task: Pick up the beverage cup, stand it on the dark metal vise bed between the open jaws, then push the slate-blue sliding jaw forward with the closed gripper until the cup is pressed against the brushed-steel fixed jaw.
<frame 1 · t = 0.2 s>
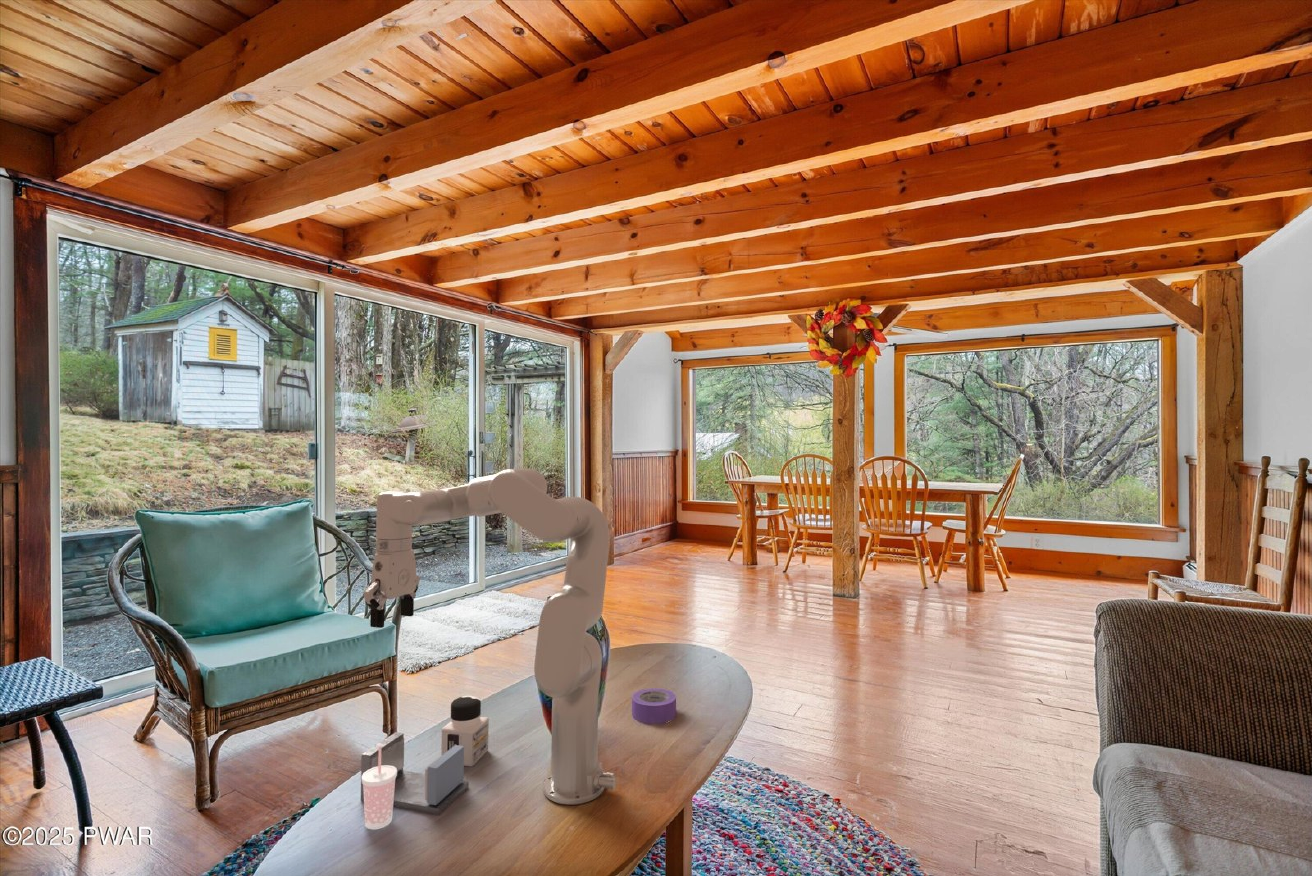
hand: (392, 621, 139), 31 cm above the table, fingers open, 9 cm apart
container: (465, 757, 139), on the table
beverage cup: (378, 823, 114), on the table
vise base: (415, 793, 124), on the table
tape roll: (653, 716, 162), on the table
sliding jaw: (444, 773, 122), point 5 cm above the table, slide at 0.0 cm
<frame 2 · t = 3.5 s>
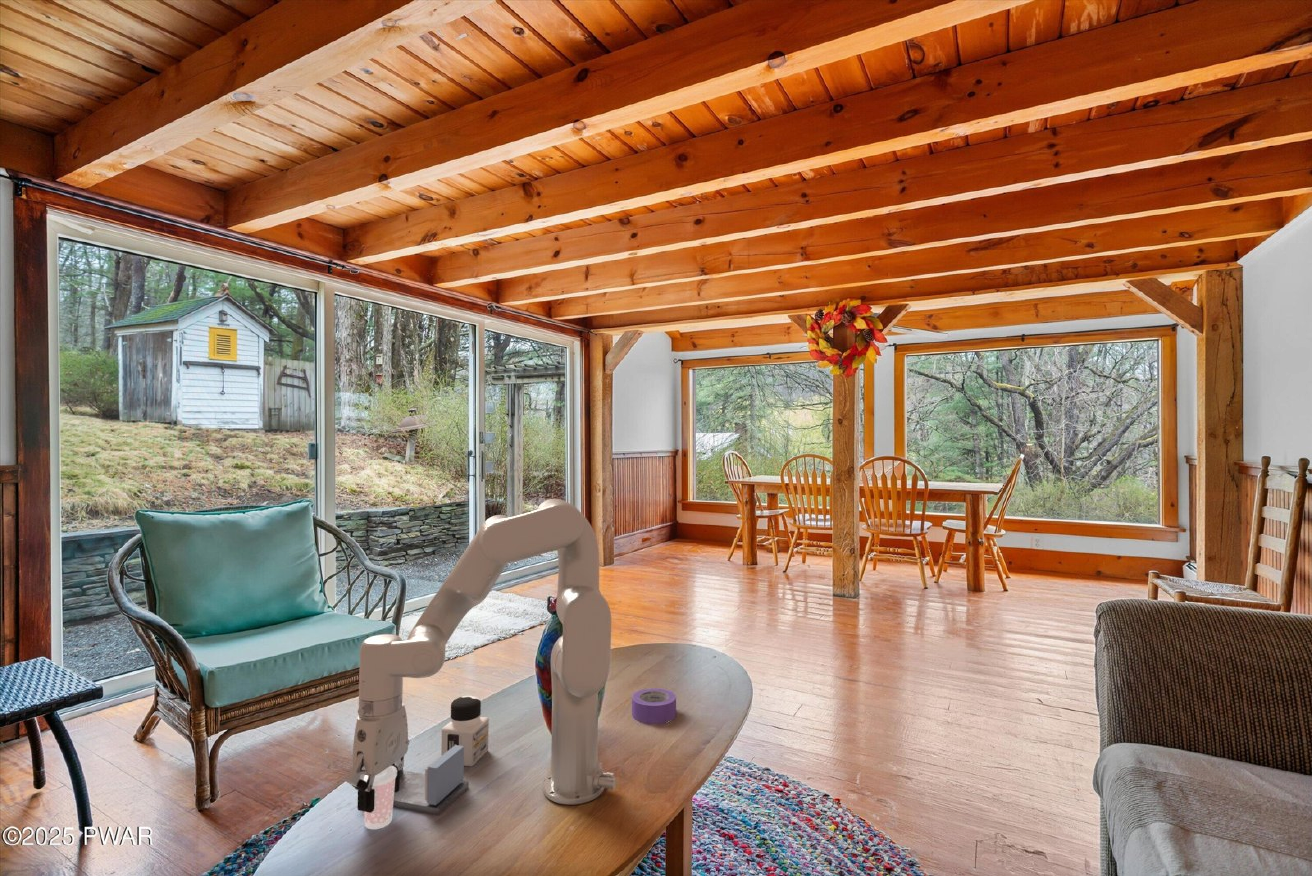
hand: (379, 799, 114), 4 cm above the table, fingers closed on beverage cup, 6 cm apart
beverage cup: (378, 823, 114), on the table, touching gripper
everything else where it was.
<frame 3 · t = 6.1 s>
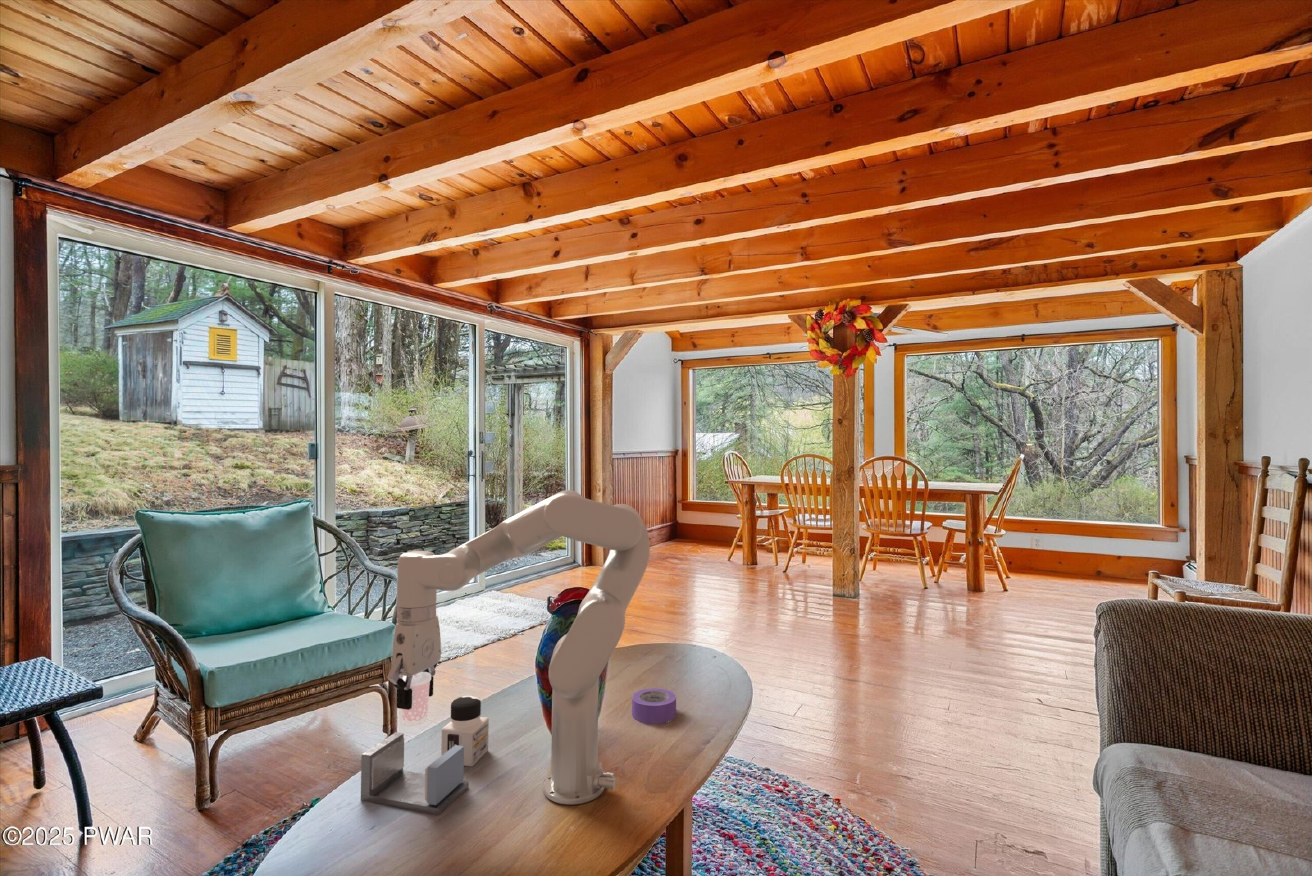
hand: (415, 700, 124), 19 cm above the table, fingers closed on beverage cup, 6 cm apart
beverage cup: (414, 722, 124), point 14 cm above the table, touching gripper
everything else where it was.
when the fingers open (6 cm above the table, at t = 8.7 s): beverage cup stays where it is, resting on vise base.
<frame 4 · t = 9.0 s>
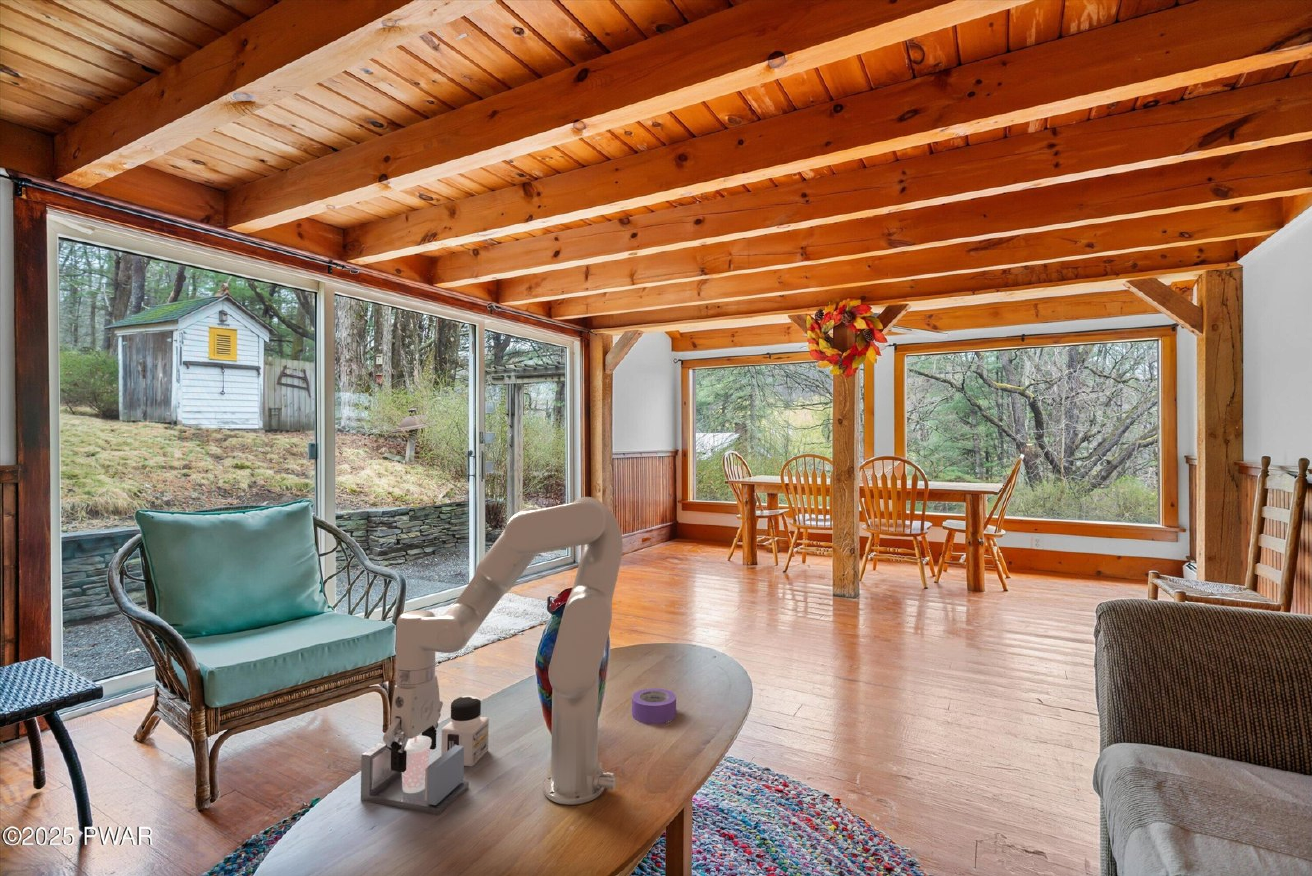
hand: (414, 759, 124), 7 cm above the table, fingers open, 9 cm apart
beverage cup: (414, 788, 124), point 1 cm above the table, touching vise base
everything else where it was.
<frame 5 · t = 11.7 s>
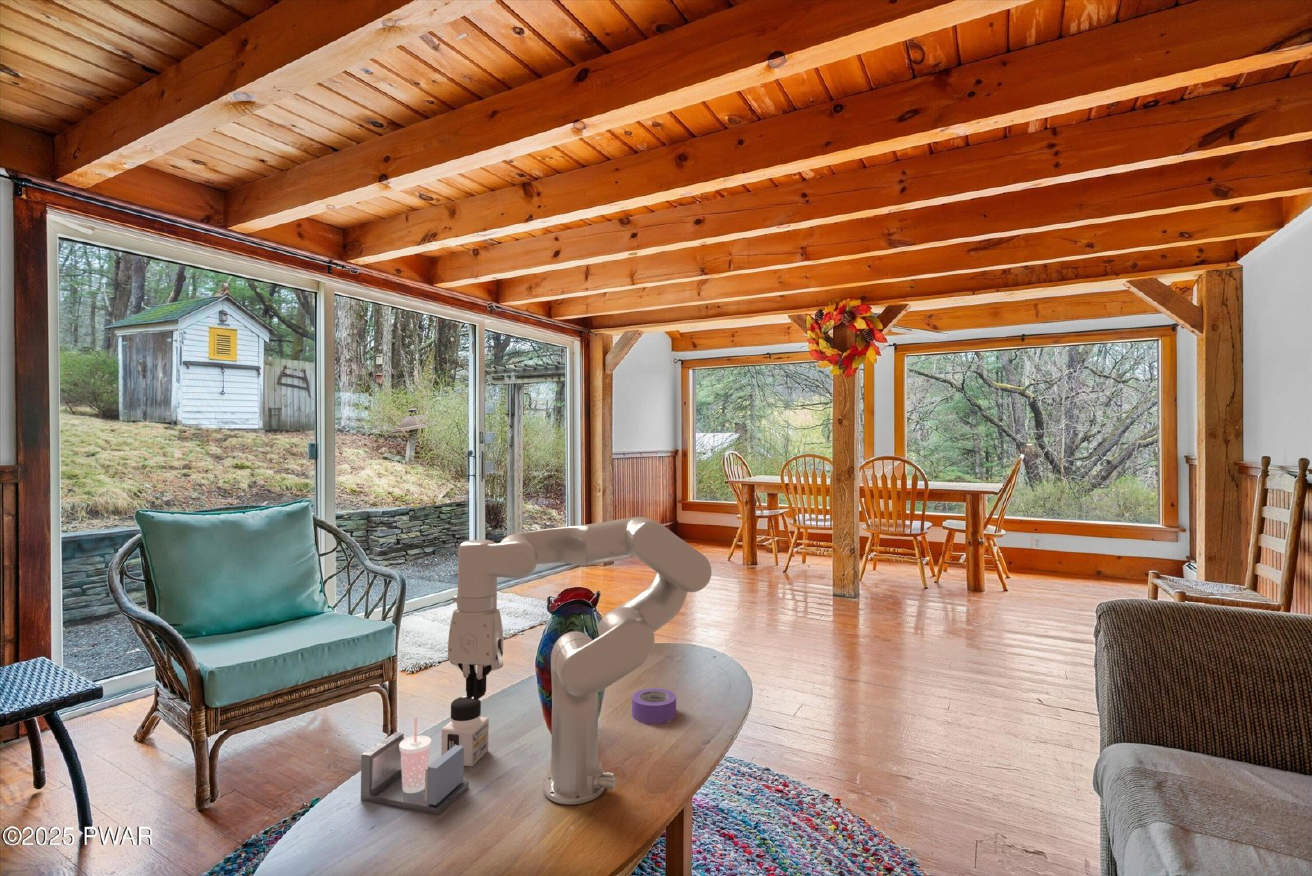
hand: (475, 696, 121), 21 cm above the table, fingers closed
nothing on the table moved.
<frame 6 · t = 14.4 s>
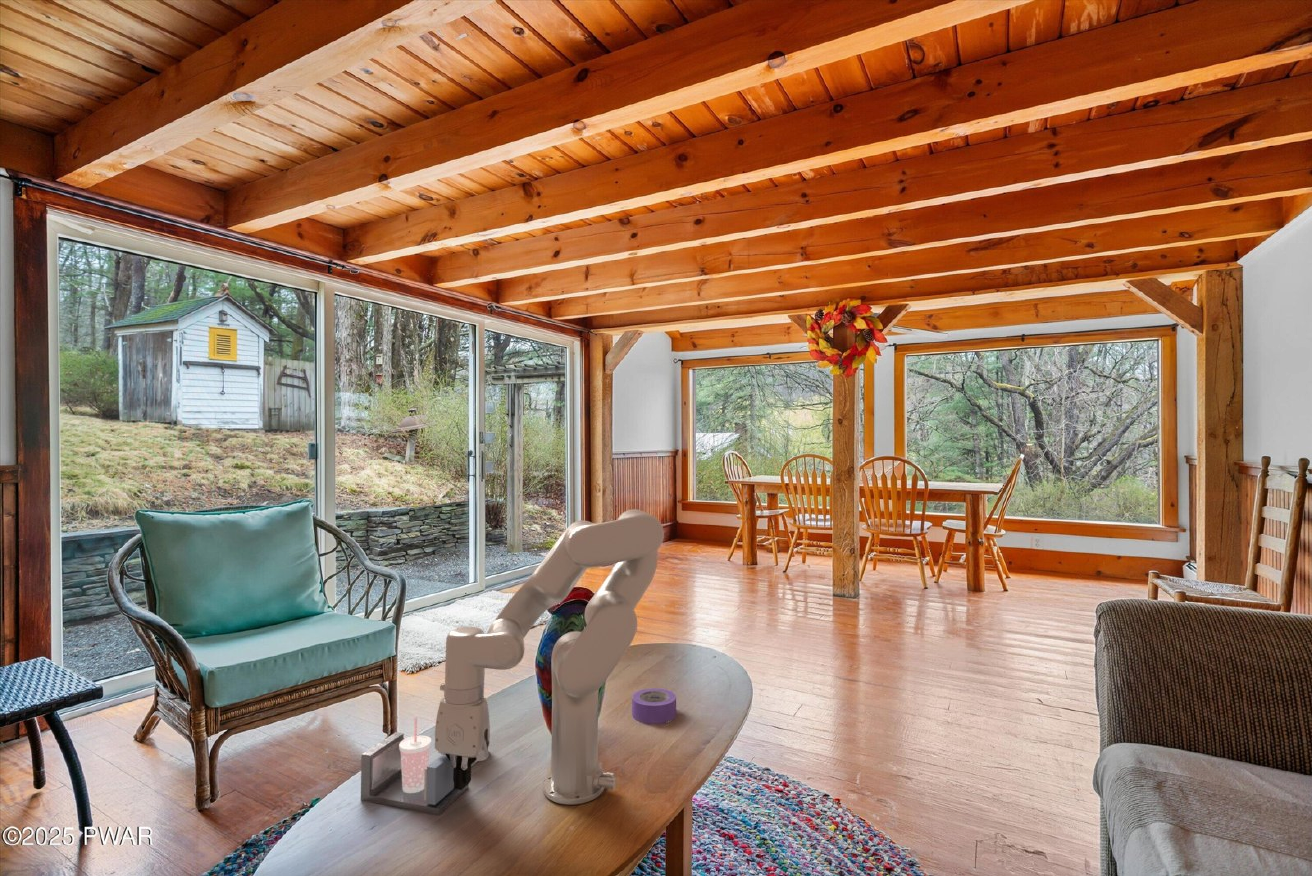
hand: (461, 786, 121), 3 cm above the table, fingers closed
sliding jaw: (444, 773, 122), point 5 cm above the table, slide at 0.2 cm, touching gripper
everything else where it was.
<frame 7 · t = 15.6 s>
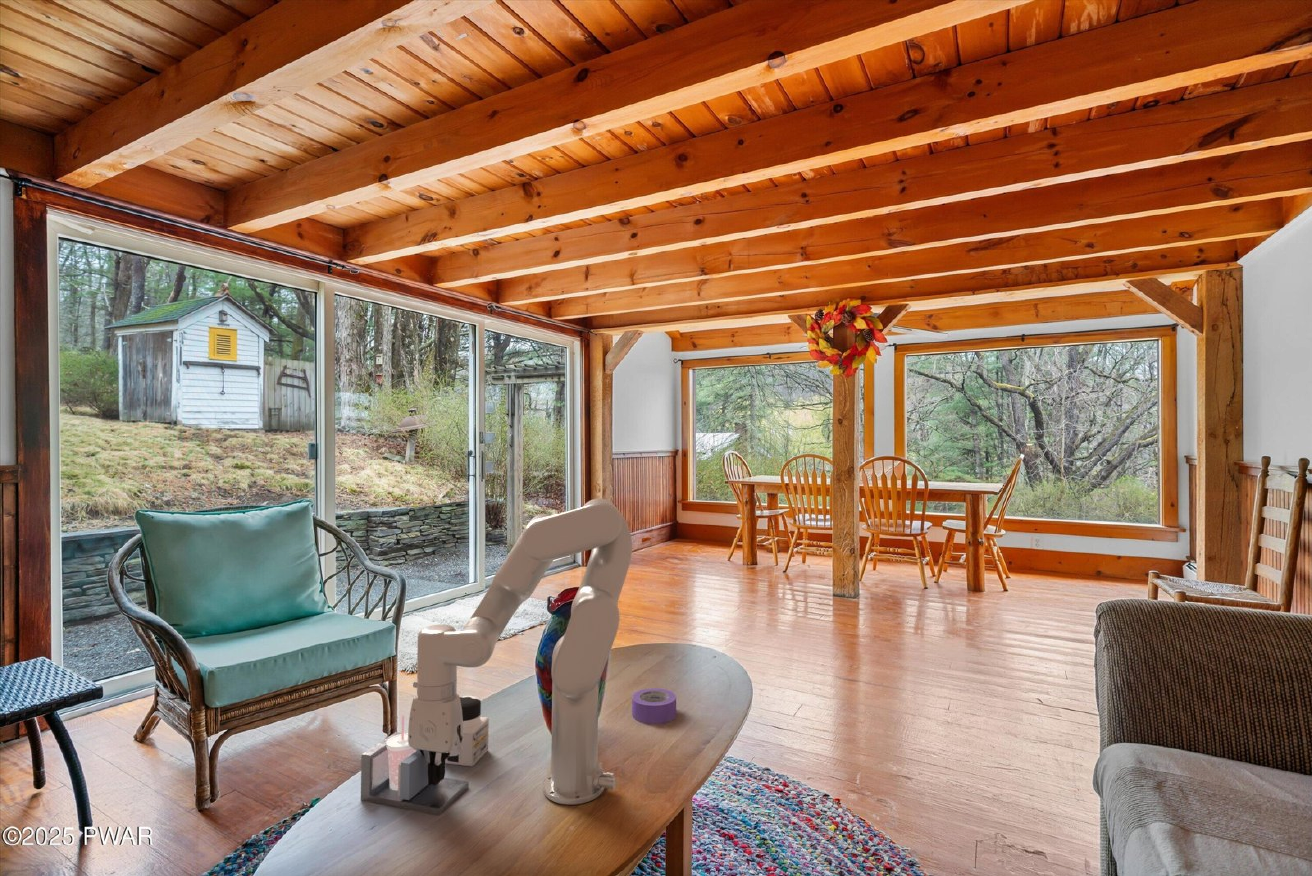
hand: (436, 781, 123), 3 cm above the table, fingers closed
beverage cup: (401, 785, 125), point 1 cm above the table, touching sliding jaw, vise base
sliding jaw: (418, 769, 124), point 5 cm above the table, slide at 6.1 cm, touching beverage cup, gripper
everything else where it was.
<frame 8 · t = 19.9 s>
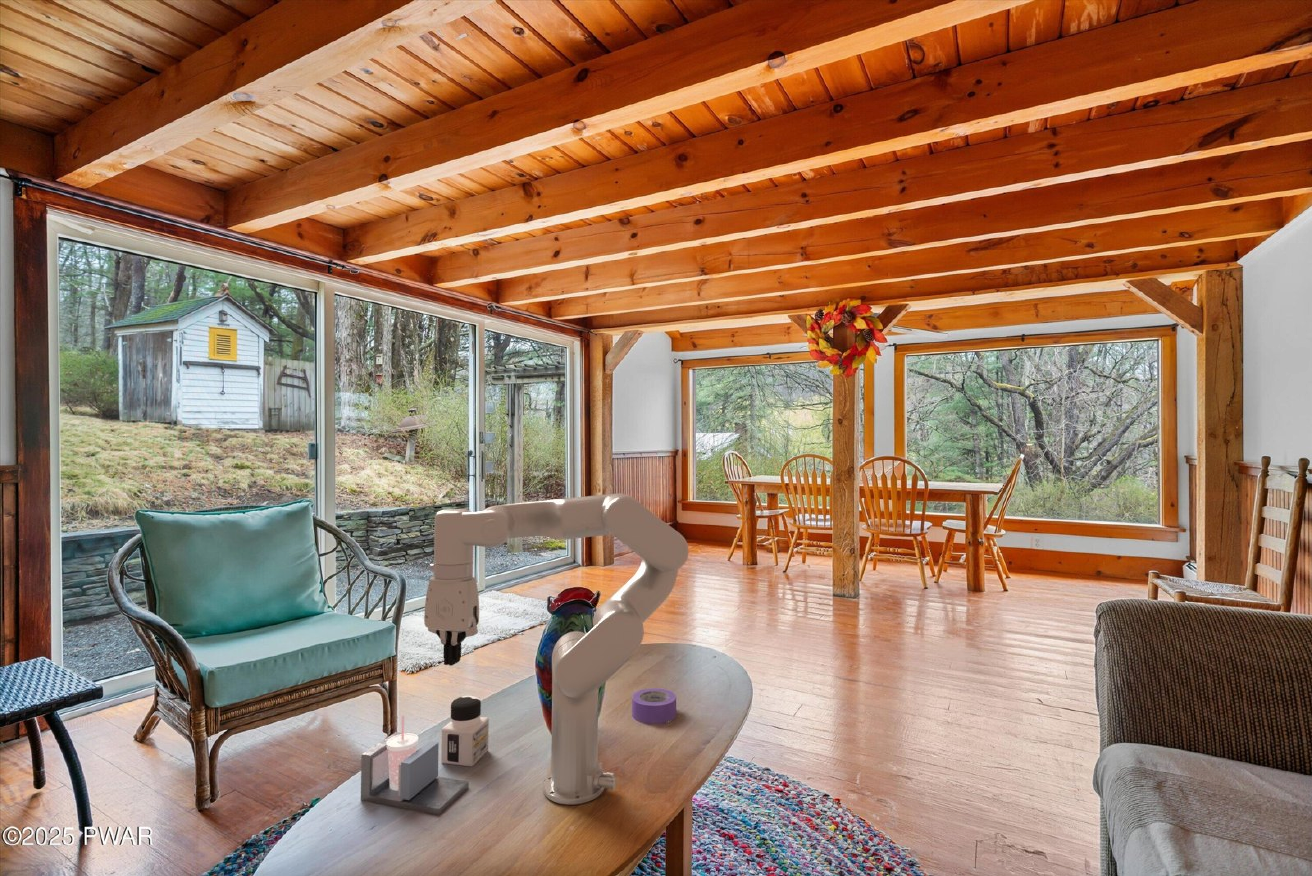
hand: (452, 663, 122), 27 cm above the table, fingers closed
beverage cup: (401, 785, 125), point 1 cm above the table, touching vise base
sliding jaw: (419, 769, 124), point 5 cm above the table, slide at 6.1 cm
everything else where it was.
at the end: beverage cup 0.2 cm from the target spot, point 1.0 cm above the table; beverage cup tilted 0°; sliding jaw slide at 6.1 cm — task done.
